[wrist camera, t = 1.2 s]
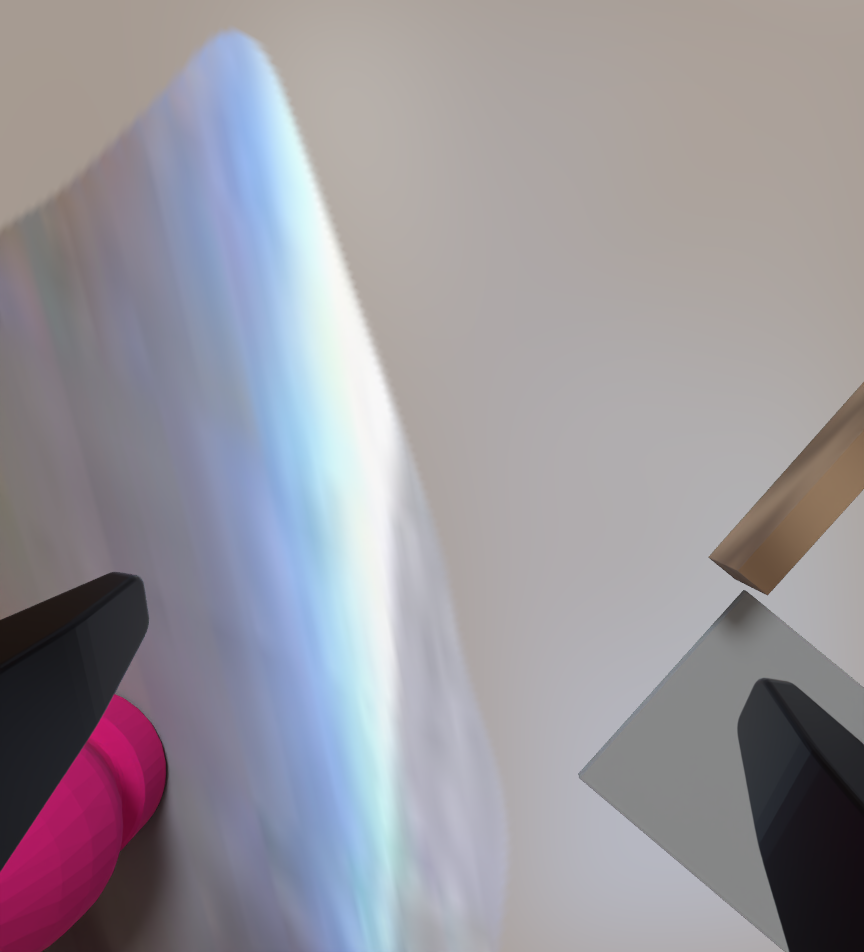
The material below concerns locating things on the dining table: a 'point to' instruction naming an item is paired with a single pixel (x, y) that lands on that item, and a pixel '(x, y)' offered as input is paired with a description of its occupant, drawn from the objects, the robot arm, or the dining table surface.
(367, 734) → the dining table surface
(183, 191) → the dining table surface
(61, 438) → the dining table surface
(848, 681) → the mat
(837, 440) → the shelf lane
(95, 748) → the pepper mill
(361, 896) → the dining table surface
